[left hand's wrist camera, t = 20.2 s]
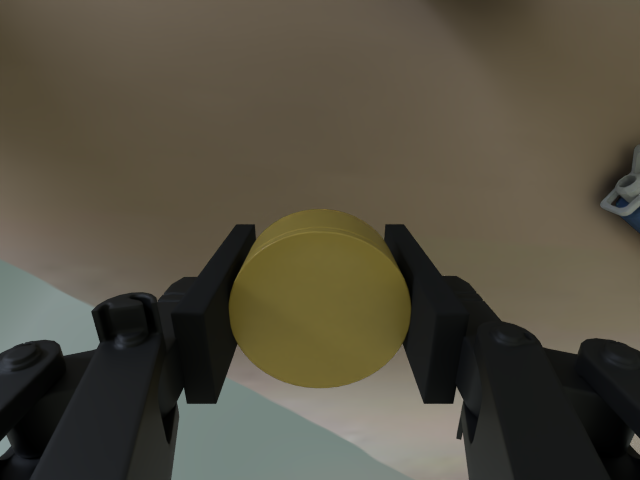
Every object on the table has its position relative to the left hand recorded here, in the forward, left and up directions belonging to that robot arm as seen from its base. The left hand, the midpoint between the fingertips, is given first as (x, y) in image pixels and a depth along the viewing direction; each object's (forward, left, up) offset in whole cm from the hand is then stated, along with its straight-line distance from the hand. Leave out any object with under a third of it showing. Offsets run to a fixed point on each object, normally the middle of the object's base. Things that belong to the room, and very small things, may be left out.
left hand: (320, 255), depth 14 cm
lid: (0, 0, +4) cm, 4 cm away
